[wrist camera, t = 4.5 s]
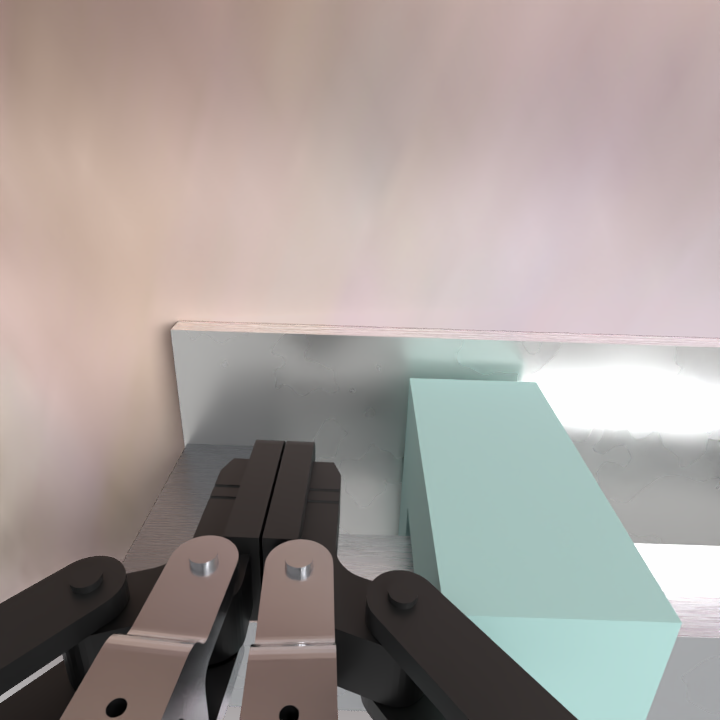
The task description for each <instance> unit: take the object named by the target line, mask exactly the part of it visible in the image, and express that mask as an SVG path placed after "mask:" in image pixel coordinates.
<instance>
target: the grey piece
mask: <svg viewBox="0 0 720 720" xmlns="http://www.w3.org/2000/svg"><path fill="white" fill-rule="evenodd" d="M171 338H172V346H173V354H174V363H175V371H176V379H177V387H178V395H179V404H180V412H181V420H182V428H183V436H184V445H185V449H184V451H183V452H182V454H181V456H180V458H179V460H178V462H177V463H176V465H175V467H174V469H173V471H172V473H171V474H170V476H169V478H168V480H167V482H166V484H165V486H164V487H163V489H162V491H161V493H160V495H159V497H158V498H157V500H156V502H155V504H154V506H153V508H152V509H151V511H150V513H149V515H148V517H147V519H146V520H145V522H144V524H143V526H142V528H141V530H140V532H139V533H138V535H137V537H136V539H135V541H134V543H133V544H132V546H131V548H130V550H129V552H128V554H127V555H126V557H125V559H124V561H123V563H122V564H123V565H124V568H125V570H126V574H127V573H131V572H136V571H141V570H146V569H151V568H155V567H159V566H161V565H164V564H166V563H167V562H168V560H169V558H170V556H171V555H172V553H173V552H174V551H175V550H176V549H177V548H178V547H179V546H180V545H181V544H183V543H185V542H186V541H189V540H191V539H193V536H194V534H195V532H196V529H197V527H198V524H199V522H200V519H201V517H202V514H203V512H204V510H205V507H206V505H207V502H208V500H209V499H210V495H211V493H212V490H213V488H214V487H215V483H216V480H217V478H218V476H219V473H220V471H221V469H223V468H224V467H225V466H226V465H227V464H228V463H229V462H230V461H231V460H233V459H234V458H242V459H249V458H250V455H251V453H252V450H253V447H254V444H255V441H256V440H279V441H285V442H286V441H305V442H315V462H334V463H335V465H336V467H337V469H338V470H339V472H340V474H341V496H340V524H339V538H338V551H337V557H338V559H339V561H340V562H341V564H342V565H343V566H344V567H345V568H346V569H347V570H349V571H350V572H351V573H353V574H355V575H357V576H360V577H362V578H365V579H368V580H371V581H373V580H374V579H375V578H376V577H377V576H379V575H380V574H383V573H385V572H388V571H393V570H404V571H410V572H413V573H414V567H413V557H412V546H411V536H398V532H399V518H400V504H401V491H402V477H403V463H404V449H405V436H406V422H407V408H408V394H409V381H410V378H423V379H454V380H485V381H516V382H536V383H537V384H538V386H539V388H540V389H541V391H542V393H543V394H544V396H545V397H546V399H547V401H548V402H549V404H550V406H551V407H552V409H553V411H554V412H555V414H556V416H557V417H558V419H559V421H560V422H561V424H562V426H563V427H564V429H565V430H566V432H567V434H568V435H569V437H570V439H571V440H572V442H573V444H574V445H575V447H576V449H577V450H578V452H579V454H580V455H581V457H582V459H583V460H584V462H585V463H586V465H587V467H588V468H589V470H590V472H591V473H592V475H593V477H594V478H595V480H596V482H597V483H598V485H599V487H600V488H601V490H602V492H603V493H604V495H605V496H606V498H607V500H608V501H609V503H610V505H611V506H612V508H613V510H614V511H615V513H616V515H617V516H618V518H619V520H620V521H621V523H622V525H623V526H624V528H625V529H626V531H627V533H628V534H629V536H630V538H631V539H632V541H633V543H634V544H635V546H636V548H637V549H638V551H639V553H640V554H641V556H642V558H643V559H644V561H645V562H646V564H647V566H648V567H649V569H650V571H651V572H652V574H653V576H654V577H655V579H656V581H657V582H658V584H659V586H660V587H661V589H662V591H663V592H664V594H665V595H666V597H667V599H668V600H669V602H670V604H671V605H672V607H673V609H674V610H675V612H676V614H677V615H678V617H679V619H680V620H681V622H682V625H681V627H680V630H679V633H678V635H677V638H676V641H675V643H674V646H673V648H672V651H671V654H670V656H669V659H668V662H667V664H666V667H665V670H664V672H663V675H662V678H661V680H660V683H659V686H658V688H657V691H656V694H655V696H654V699H653V702H652V704H651V707H650V710H649V712H648V715H647V718H646V720H720V338H692V337H661V336H630V335H599V334H567V333H536V332H505V331H474V330H443V329H411V328H380V327H349V326H318V325H287V324H255V323H224V322H193V321H178V322H177V323H176V324H175V325H174V326H173V328H172V329H171ZM256 629H257V621H250V622H249V626H248V630H247V634H246V638H245V641H244V645H245V652H244V657H243V660H242V663H241V666H240V669H239V672H238V676H237V679H236V682H235V685H234V688H233V692H232V695H231V698H230V701H229V704H228V706H232V707H241V706H242V698H243V691H244V684H245V676H246V669H247V662H248V655H249V650H250V646H251V644H254V643H255V636H256ZM337 703H338V710H348V711H350V710H351V711H366V709H365V708H364V706H363V703H362V700H361V696H360V695H358V694H355V693H353V692H350V691H348V690H345V689H343V688H340V687H338V686H337Z"/></svg>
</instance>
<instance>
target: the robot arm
mask: <svg viewBox="0 0 720 720" xmlns="http://www.w3.org/2000/svg"><path fill="white" fill-rule="evenodd" d="M340 496H341V474H340V472H339V470H338V469H337V467H336V465H335V463H334V462H315V442H305V441H286V442H285V441H279V440H256V441H255V444H254V447H253V450H252V453H251V455H250V458H249V459H242V458H234V459H233V460H231V461H230V462H229V463H228V464H227V465H226V466H225V467H224V468H223V469H221V471H220V473H219V476H218V478H217V480H216V483H215V487H214V488H213V490H212V493H211V495H210V499H209V500H208V502H207V505H206V507H205V510H204V512H203V514H202V517H201V519H200V522H199V524H198V527H197V529H196V532H195V534H194V536H193V539H191V540H189V541H186V542H185V543H183V544H181V545H180V546H179V547H178V548H177V549H176V550H175V551H174V552H173V553H172V555H171V556H170V558H169V560H168V562H167V563H166V564H164V565H161V566H159V567H155V568H151V569H146V570H141V571H136V572H131V573H127V574H126V570H125V568H124V565H123V564H122V563H121V562H120V561H118V560H117V559H114V558H112V557H107V556H94V557H88V558H85V559H81V560H79V561H76V562H74V563H72V564H70V565H68V566H66V567H65V568H63V569H61V570H59V571H57V572H56V573H54V574H52V575H50V576H49V577H47V578H45V579H43V580H41V581H40V582H38V583H36V584H34V585H33V586H31V587H29V588H27V589H25V590H24V591H22V592H20V593H18V594H17V595H15V596H13V597H11V598H9V599H8V600H6V601H4V602H2V603H1V604H0V696H1V695H2V694H4V693H5V692H6V691H8V690H9V689H11V688H12V687H14V686H15V685H17V684H18V683H20V682H21V681H23V680H24V679H26V678H27V677H29V676H30V675H32V674H33V673H35V672H36V671H38V670H39V669H41V668H42V667H44V666H45V665H47V664H48V663H50V662H51V661H53V660H54V659H56V658H57V657H58V656H60V655H63V659H64V660H63V661H62V662H60V663H59V664H57V665H56V666H54V667H53V668H51V669H50V670H48V671H47V672H45V673H44V674H43V675H41V676H40V677H38V678H37V679H35V680H34V681H32V682H31V683H29V684H28V685H26V686H25V687H23V688H22V689H21V690H19V691H18V692H16V693H15V694H13V695H12V696H10V697H9V698H7V699H6V700H4V701H3V702H1V703H0V720H224V717H225V714H226V711H227V707H228V704H229V701H230V698H231V695H232V692H233V688H234V685H235V682H236V679H237V676H238V672H239V669H240V666H241V663H242V660H243V657H244V652H245V645H244V641H245V638H246V634H247V630H248V626H249V622H250V621H257V629H256V636H255V643H254V644H251V646H250V650H249V655H248V662H247V669H246V676H245V684H244V691H243V698H242V706H241V713H240V720H338V703H337V686H338V687H340V688H343V689H345V690H348V691H350V692H353V693H355V694H358V695H360V696H361V700H362V703H363V706H364V708H365V709H366V711H367V712H368V714H369V715H370V716H371V718H372V719H373V720H578V719H577V718H576V717H575V716H574V715H573V714H572V713H571V712H569V711H568V710H567V709H566V708H565V707H564V706H563V705H562V704H561V703H560V702H559V701H558V700H556V699H555V698H554V697H553V696H552V695H551V694H550V693H549V692H548V691H547V690H546V689H545V688H544V687H542V686H541V685H540V684H539V683H538V682H537V681H536V680H535V679H534V678H533V677H532V676H531V675H529V674H528V673H527V672H526V671H525V670H524V669H523V668H522V667H521V666H520V665H519V664H518V663H516V662H515V661H514V660H513V659H512V658H511V657H510V656H509V655H508V654H507V653H506V652H505V651H503V650H502V649H501V648H500V647H499V646H498V645H497V644H496V643H495V642H494V641H493V640H492V639H491V638H489V637H488V636H487V635H486V634H485V633H484V632H483V631H482V630H481V629H480V628H479V627H478V626H476V625H475V624H474V623H473V622H472V621H471V620H470V619H469V618H468V617H467V616H466V615H465V614H463V613H462V612H461V611H460V610H459V609H458V608H457V607H456V606H455V605H454V604H453V603H452V602H451V601H449V600H448V599H447V598H446V597H445V596H444V595H443V594H442V593H441V592H440V591H439V590H438V589H436V588H435V587H434V586H433V585H432V584H431V583H430V582H429V581H428V580H426V579H425V578H424V577H422V576H420V575H418V574H416V573H413V572H410V571H404V570H393V571H388V572H385V573H383V574H380V575H379V576H377V577H376V578H375V579H374V580H373V581H371V580H368V579H365V578H362V577H360V576H357V575H355V574H353V573H351V572H350V571H349V570H347V569H346V568H345V567H344V566H343V565H342V564H341V562H340V561H339V559H338V557H337V551H338V538H339V524H340Z"/></svg>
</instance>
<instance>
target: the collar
mask: <svg viewBox="0 0 720 720" xmlns="http://www.w3.org/2000/svg"><path fill="white" fill-rule="evenodd" d="M398 536H411V546H412V557H413V567H414V573H416V574H418V575H420V576H422V577H424V578H425V579H426V580H428V581H429V582H430V583H431V584H432V585H433V586H434V587H435V588H436V589H438V590H439V591H440V592H441V593H442V594H443V595H444V596H445V597H446V598H447V599H448V600H449V601H451V602H452V603H453V604H454V605H455V606H456V607H457V608H458V609H459V610H460V611H461V612H462V613H463V614H465V615H466V616H467V617H468V618H469V619H470V620H471V621H472V622H473V623H474V624H475V625H476V626H478V627H479V628H480V629H481V630H482V631H483V632H484V633H485V634H486V635H487V636H488V637H489V638H491V639H492V640H493V641H494V642H495V643H496V644H497V645H498V646H499V647H500V648H501V649H502V650H503V651H505V652H506V653H507V654H508V655H509V656H510V657H511V658H512V659H513V660H514V661H515V662H516V663H518V664H519V665H520V666H521V667H522V668H523V669H524V670H525V671H526V672H527V673H528V674H529V675H531V676H532V677H533V678H534V679H535V680H536V681H537V682H538V683H539V684H540V685H541V686H542V687H544V688H545V689H546V690H547V691H548V692H549V693H550V694H551V695H552V696H553V697H554V698H555V699H556V700H558V701H559V702H560V703H561V704H562V705H563V706H564V707H565V708H566V709H567V710H568V711H569V712H571V713H572V714H573V715H574V716H575V717H576V718H577V719H578V720H646V718H647V715H648V712H649V710H650V707H651V704H652V702H653V699H654V696H655V694H656V691H657V688H658V686H659V683H660V680H661V678H662V675H663V672H664V670H665V667H666V664H667V662H668V659H669V656H670V654H671V651H672V648H673V646H674V643H675V641H676V638H677V635H678V633H679V630H680V627H681V625H682V622H681V620H680V619H679V617H678V615H677V614H676V612H675V610H674V609H673V607H672V605H671V604H670V602H669V600H668V599H667V597H666V595H665V594H664V592H663V591H662V589H661V587H660V586H659V584H658V582H657V581H656V579H655V577H654V576H653V574H652V572H651V571H650V569H649V567H648V566H647V564H646V562H645V561H644V559H643V558H642V556H641V554H640V553H639V551H638V549H637V548H636V546H635V544H634V543H633V541H632V539H631V538H630V536H629V534H628V533H627V531H626V529H625V528H624V526H623V525H622V523H621V521H620V520H619V518H618V516H617V515H616V513H615V511H614V510H613V508H612V506H611V505H610V503H609V501H608V500H607V498H606V496H605V495H604V493H603V492H602V490H601V488H600V487H599V485H598V483H597V482H596V480H595V478H594V477H593V475H592V473H591V472H590V470H589V468H588V467H587V465H586V463H585V462H584V460H583V459H582V457H581V455H580V454H579V452H578V450H577V449H576V447H575V445H574V444H573V442H572V440H571V439H570V437H569V435H568V434H567V432H566V430H565V429H564V427H563V426H562V424H561V422H560V421H559V419H558V417H557V416H556V414H555V412H554V411H553V409H552V407H551V406H550V404H549V402H548V401H547V399H546V397H545V396H544V394H543V393H542V391H541V389H540V388H539V386H538V384H537V383H536V382H516V381H485V380H454V379H423V378H410V381H409V394H408V408H407V422H406V436H405V449H404V463H403V477H402V491H401V504H400V518H399V532H398Z"/></svg>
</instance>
